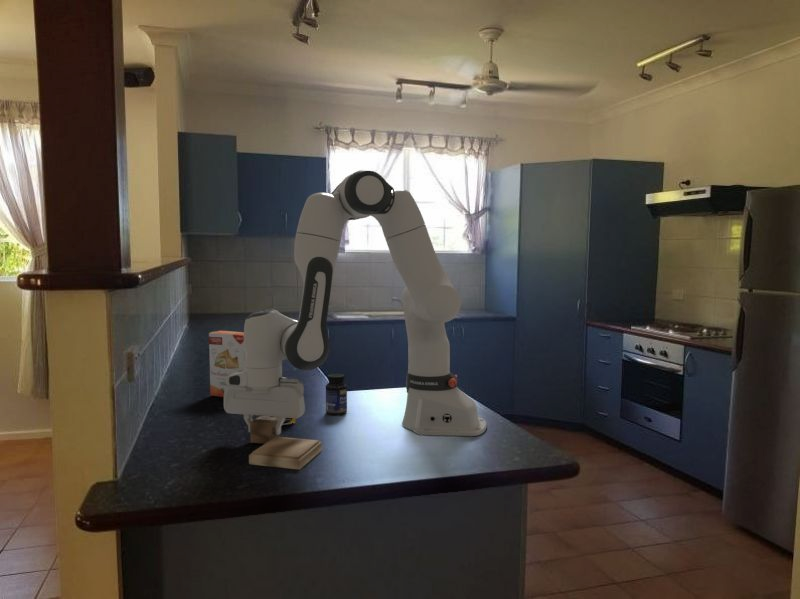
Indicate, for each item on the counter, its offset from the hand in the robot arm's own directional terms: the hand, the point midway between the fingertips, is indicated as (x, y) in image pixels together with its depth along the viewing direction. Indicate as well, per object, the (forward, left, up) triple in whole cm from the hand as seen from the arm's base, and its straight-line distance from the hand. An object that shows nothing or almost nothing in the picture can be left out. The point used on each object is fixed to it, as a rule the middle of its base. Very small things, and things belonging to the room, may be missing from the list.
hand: (264, 432), depth 134 cm
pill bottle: (-8, -28, -2) cm, 29 cm away
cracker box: (+31, -37, -2) cm, 48 cm away
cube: (0, 0, -2) cm, 2 cm away
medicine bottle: (+4, -16, -2) cm, 17 cm away
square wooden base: (-10, +8, -2) cm, 13 cm away
